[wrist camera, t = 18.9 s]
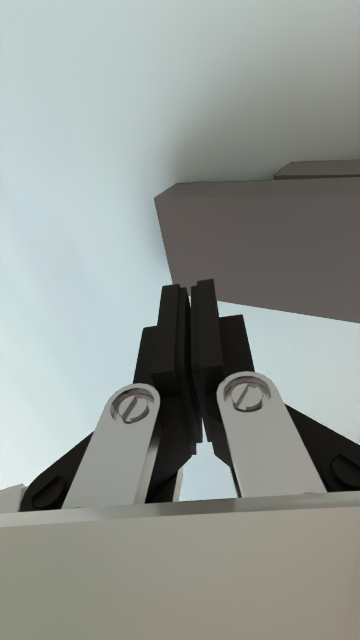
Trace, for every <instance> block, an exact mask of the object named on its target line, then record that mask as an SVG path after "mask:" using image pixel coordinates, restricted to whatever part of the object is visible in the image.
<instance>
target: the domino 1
mask: <svg viewBox="0 0 360 640" xmlns="http://www.w3.org/2000/svg"><path fill="white" fill-rule="evenodd" d="M154 201H155V206H156V210H157V215H158V219H159V224H160V228H161V233H162V237H163V242H164V246H165V251H166V255H167V260H168V264H169V269H170V273H171V278H172V282H173V284H180V288H182V287H186V288H187V292H188V296H191V286H196V285H197V281H200V280H207V279H214V286H215V292H216V299H217V301H222V302H229V303H235V304H241V305H248V306H254V307H260V308H267V309H273V310H279V311H285V312H292V313H298V314H304V315H311V316H317V317H323V318H330V319H336V320H342V321H349V322H355V323H360V177H346V178H317V179H289V180H261V181H232V182H204V183H177V184H175V185H174V186H172V187H170V188H169V189H167V190H166V191H164V192H163V193H161V194H159V195H158V196H156V197H155V198H154Z"/></svg>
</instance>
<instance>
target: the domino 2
mask: <svg viewBox="0 0 360 640" xmlns="http://www.w3.org/2000/svg"><path fill="white" fill-rule="evenodd" d="M346 177H360V160H335V161H307V162H291V163H290V164H289V165H287V166H286V167H285V168H283V169H282V170H281V171H279V172H278V173H276V174H275V175H274V180H289V179H317V178H346Z"/></svg>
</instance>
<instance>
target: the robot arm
mask: <svg viewBox="0 0 360 640" xmlns="http://www.w3.org/2000/svg"><path fill="white" fill-rule="evenodd" d="M202 419H203V423H204V427H205V432H206V436H207V440H208V442H212V445H213V450H214V454H215V456H217V457H218V458H219V459H221V460H222V461H223V462H224V463H226V464H227V465H228V466H229V468H230V473H231V477H232V481H233V484H234V488H235V492H236V496H237V498H228V499H212V500H197V501H181V502H179V496H180V490H181V484H182V479H183V465H184V464H185V463H186V462H187V461H188V460H189V459H190V458H191V457H192V455H196V443H202V442H203V434H202ZM0 640H360V445H358V444H356V443H354V442H353V441H351V440H349V439H347V438H345V437H344V436H342V435H340V434H338V433H336V432H335V431H333V430H331V429H329V428H327V427H326V426H324V425H322V424H320V423H318V422H317V421H315V420H313V419H311V418H309V417H308V416H306V415H304V414H302V413H300V412H299V411H297V410H295V409H293V408H291V407H290V406H288V405H286V404H284V402H283V400H282V398H281V396H280V394H279V392H278V390H277V388H276V386H275V385H274V383H273V382H272V381H271V380H270V379H269V378H267V377H266V376H265V375H262V374H259V373H257V372H255V370H254V365H253V361H252V356H251V351H250V347H249V342H248V337H247V333H246V328H245V323H244V319H243V315H242V314H241V315H234V316H226V317H219V313H218V306H217V299H216V292H215V286H214V279H207V280H200V281H197V285H196V286H191V307H190V302H189V297H188V292H187V288H186V287H182V288H180V284H173V285H166V286H162V292H161V300H160V307H159V315H158V322H157V326H152V327H145V328H144V329H143V332H142V337H141V342H140V348H139V353H138V358H137V364H136V369H135V375H134V380H133V384H131V385H128V386H125V387H123V388H121V389H120V390H118V391H116V392H115V393H114V394H113V395H112V396H111V397H110V398H109V400H108V402H107V403H106V405H105V407H104V410H103V412H102V414H101V417H100V419H99V421H98V424H97V426H96V429H95V431H93V432H92V433H91V434H90V435H89V436H87V437H86V438H85V439H84V440H82V441H81V442H80V443H79V444H77V445H76V446H75V447H74V448H72V449H71V450H70V451H69V452H67V453H66V454H65V455H64V456H62V457H61V458H60V459H59V460H57V461H56V462H55V463H54V464H52V465H51V466H50V467H49V468H47V469H46V470H45V471H44V472H42V473H41V474H40V475H39V476H38V477H37V478H36V479H35V480H34V481H33V482H32V483H31V484H30V485H29V486H27V487H25V486H24V485H23V483H22V484H19V485H16V486H13V487H9V488H6V489H3V490H0Z"/></svg>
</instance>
